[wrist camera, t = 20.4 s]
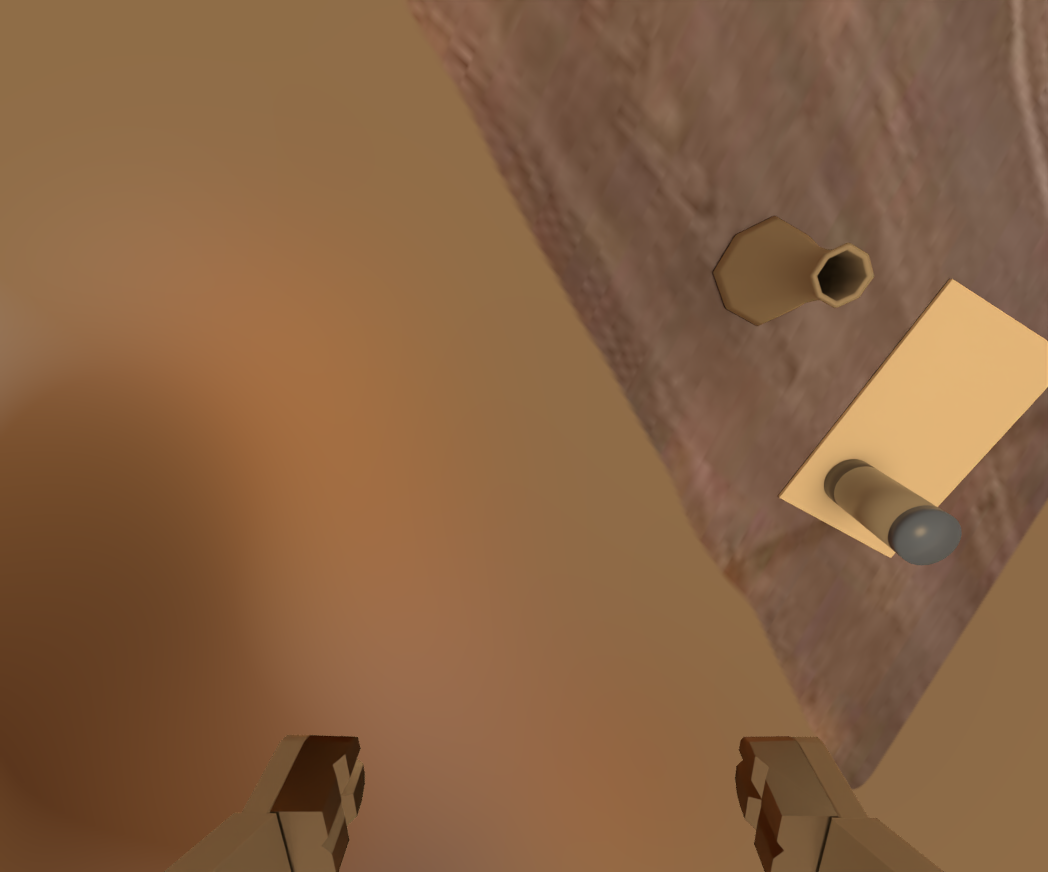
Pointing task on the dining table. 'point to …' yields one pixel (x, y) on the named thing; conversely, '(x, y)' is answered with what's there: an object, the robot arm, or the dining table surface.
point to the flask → (787, 272)
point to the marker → (893, 512)
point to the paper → (930, 406)
